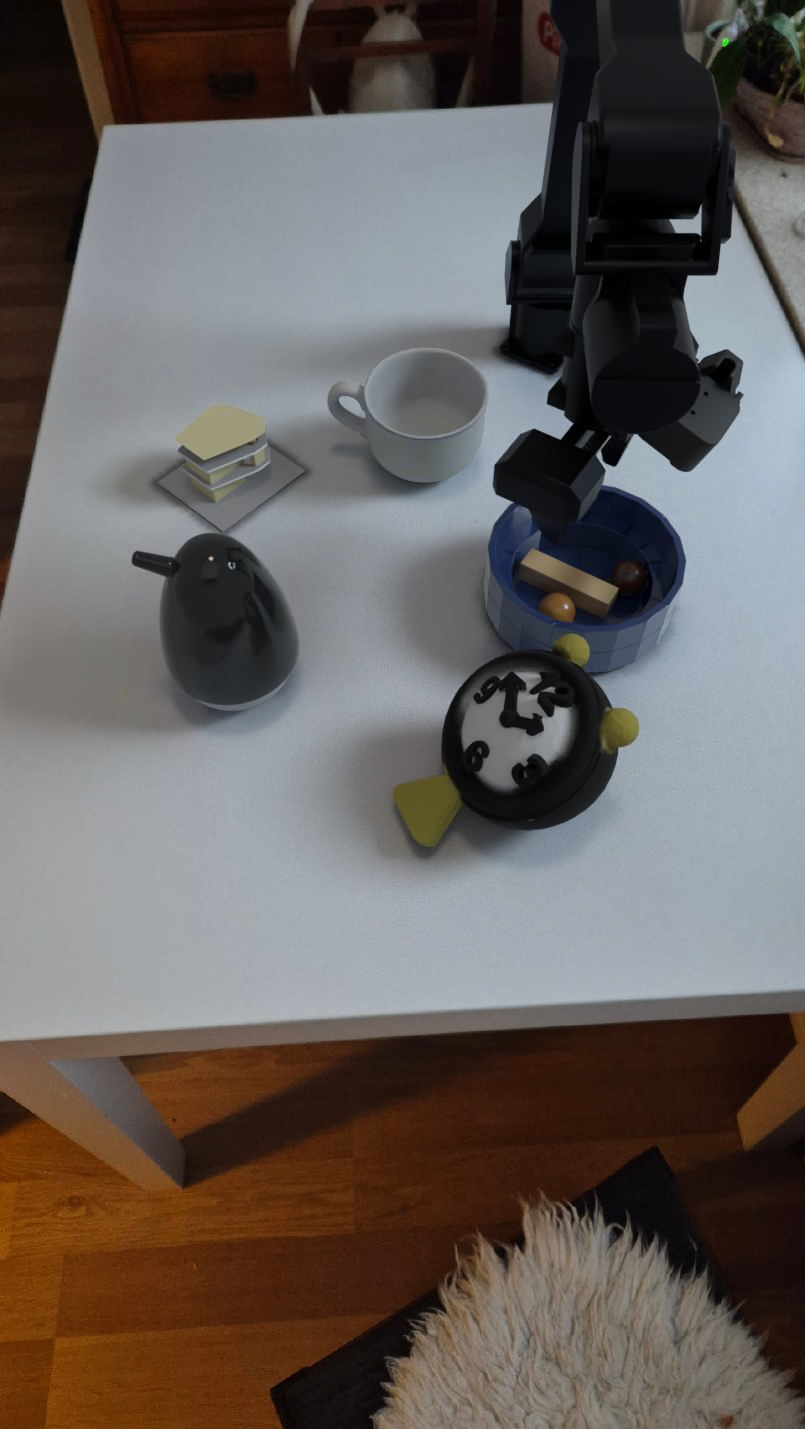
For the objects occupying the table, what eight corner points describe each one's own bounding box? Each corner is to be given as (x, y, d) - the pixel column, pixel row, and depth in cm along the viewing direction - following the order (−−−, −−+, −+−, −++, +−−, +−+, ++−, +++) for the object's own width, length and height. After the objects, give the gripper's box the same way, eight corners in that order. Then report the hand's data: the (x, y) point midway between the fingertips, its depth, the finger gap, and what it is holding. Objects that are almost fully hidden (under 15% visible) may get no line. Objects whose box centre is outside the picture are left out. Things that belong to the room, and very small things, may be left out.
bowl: (449, 623, 82) (451, 576, 77) (539, 508, 89) (547, 457, 84) (617, 708, 78) (631, 663, 73) (698, 579, 85) (717, 530, 79)
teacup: (497, 432, 94) (504, 361, 87) (463, 513, 89) (467, 444, 82) (358, 400, 97) (353, 329, 90) (316, 477, 91) (308, 407, 85)
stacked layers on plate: (223, 532, 88) (213, 486, 83) (157, 482, 91) (143, 436, 87) (305, 471, 92) (299, 424, 87) (239, 425, 95) (229, 378, 90)
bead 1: (528, 623, 82) (545, 592, 82) (560, 641, 81) (578, 610, 82) (533, 612, 79) (551, 581, 79) (566, 631, 78) (585, 599, 79)
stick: (517, 578, 84) (519, 563, 82) (529, 563, 85) (531, 547, 83) (604, 619, 82) (608, 604, 80) (615, 603, 82) (619, 587, 81)
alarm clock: (426, 750, 80) (467, 584, 72) (602, 815, 78) (666, 650, 69) (373, 836, 71) (413, 656, 62) (571, 913, 68) (641, 736, 60)
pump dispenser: (182, 623, 83) (139, 489, 70) (308, 625, 82) (289, 491, 69) (162, 729, 77) (112, 605, 64) (298, 732, 77) (274, 608, 64)
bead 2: (604, 580, 81) (632, 605, 81) (629, 551, 80) (657, 576, 80) (599, 580, 84) (626, 603, 84) (623, 552, 83) (651, 575, 83)
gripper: (674, 461, 55) (624, 634, 68) (801, 281, 63) (734, 466, 76) (496, 388, 58) (481, 566, 71) (639, 226, 66) (602, 413, 80)
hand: (582, 501), depth 74 cm, fingers open, 9 cm apart
